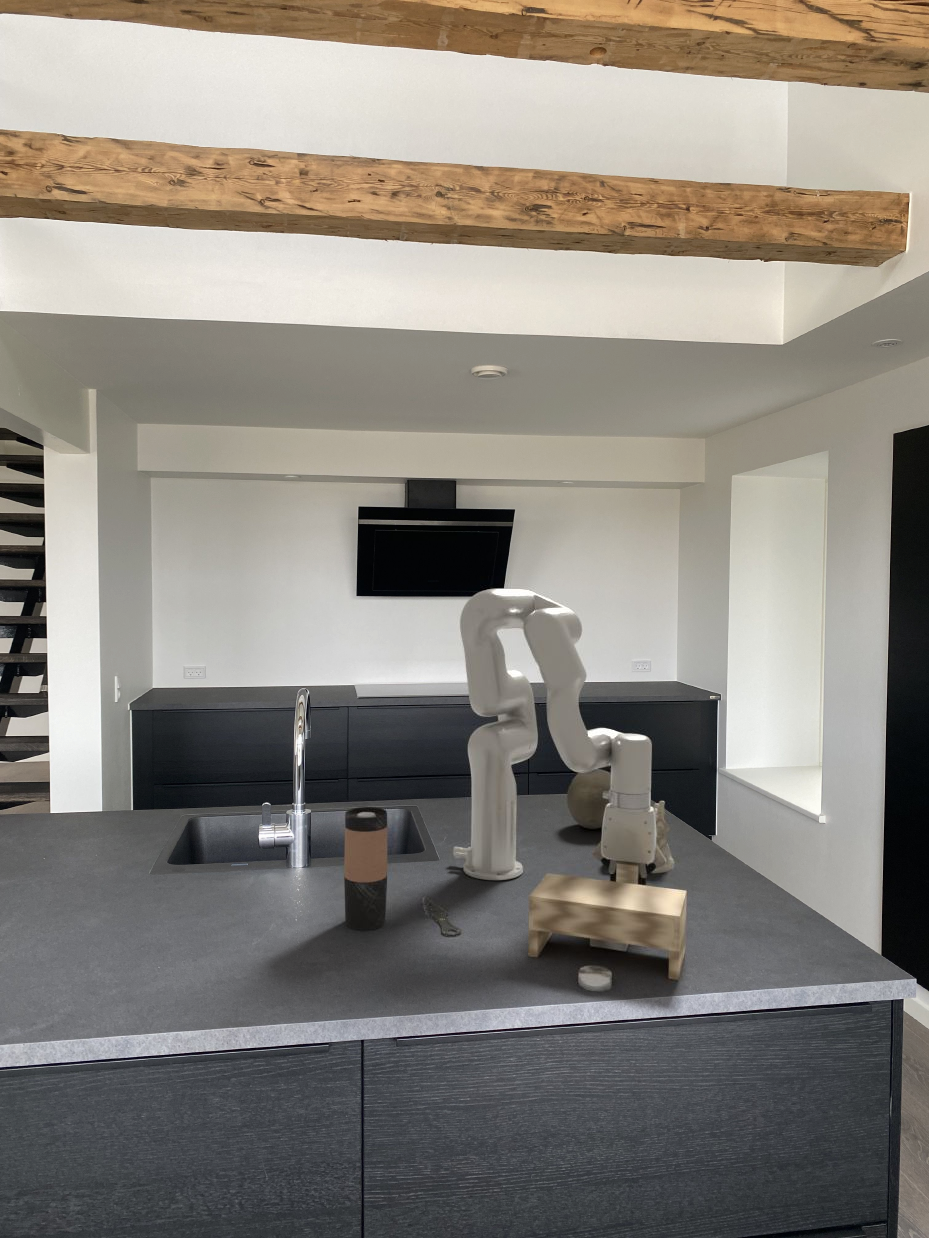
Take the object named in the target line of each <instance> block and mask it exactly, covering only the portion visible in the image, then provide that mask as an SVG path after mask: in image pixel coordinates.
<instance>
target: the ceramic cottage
mask: <svg viewBox="0 0 929 1238" xmlns="http://www.w3.org/2000/svg"><path fill="white" fill-rule="evenodd" d="M665 805H666V803H665V801H664V800H660V801H659V802H658V803H656V802H655V803H654V804H653V806H652V807H653V808H654V813H655V820H656V834H657V845H658V847H659V849H660V850H661V852H662V854H663V855H664V857H665V858H666V863H665V864H664V865H662V866H661V867H659V868H656V869H655V870H654V871H652V872H651V873H650V874H660V873H667V872H670V871H672V870H673V869H674V868H675V866H676V865H675V860H674V858H673V857H672V852H671V850H670V847H669V844H668V833H669V831H670V826H669V825H668V824H667V822H666V820H665V818H664V817H665V813H666V812H665ZM610 860H611V859H610ZM655 860H657V859H656V857H655V859H654V860H653V861H655ZM648 864H650V863H648ZM604 867H605V866H604ZM605 869H607V868H606V867H605Z"/></svg>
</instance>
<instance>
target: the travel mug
mask: <svg viewBox="0 0 929 1238" xmlns="http://www.w3.org/2000/svg"><path fill="white" fill-rule="evenodd" d="M344 818H345V819H344V826H345V827H344V867H343V868H344V869H343V870H344V871H343V872H344V873H343V878H344V881H343V883H344V885H343V886H344V917H345V918H344V921H345V926H346V927H348V928H349V929H351V930H355V931H373V930H377V929H379V928H382V927H383V926H384V925H385V923H386V917H387V916H386V914H387V913H386V912H387V890H388V889H387V888H388V811H387V810H385V808H382V807H381V808H380V807H375V806H362V807H355V808H351V809H348V810H347V811H345V813H344Z"/></svg>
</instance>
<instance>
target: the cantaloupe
mask: <svg viewBox="0 0 929 1238" xmlns="http://www.w3.org/2000/svg"><path fill="white" fill-rule="evenodd" d="M570 782H571V783H570V785H569V786H568V788H567V789H568V790H567V793H566V794H567V795H566V803H567V807H568V810H569V812H570V815H571V818H572V819H573V821H575V822H576V823H577V824H578V825H580V826H581V827H583V828H585V829H590V830H596V829H597V830H598V829H600V828H602V827H603V818H604V812H605V808H606V805H607V804H609V803H610V801H609V799H607V798H603V791H609V790H610V789H611V772H610V771H608V770H604V769H601V768H598V769H595V770H592V771H589V772H585V773H579V772H578V773H577V774H576V775H575V776H574V777H573V778H572V781H570Z"/></svg>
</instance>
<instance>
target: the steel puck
mask: <svg viewBox="0 0 929 1238" xmlns="http://www.w3.org/2000/svg"><path fill="white" fill-rule="evenodd" d="M577 977H578V980H577V982H578V983H579V984H578V986H579V985H580V986H581V987H583V988H584V989H583V988H582V989H583V990H585V989H588V990H590V991H589V992H593V991H598V992H599V991H602V992H606V991H605V990H607V991H608V989H609V988H610V987H611V988H612V980H613V979H612V977H613V976H612V972H611V970H610V969H609V968H607V967H605V966H600V965H591V964H590V965H585V966H581V967H580V968H579V969H578V976H577ZM580 986H579V987H580ZM581 987H580V988H581ZM611 988H610V989H611ZM610 989H609V990H610ZM588 990H587V991H588ZM598 992H597V993H598ZM599 993H600V992H599Z"/></svg>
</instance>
